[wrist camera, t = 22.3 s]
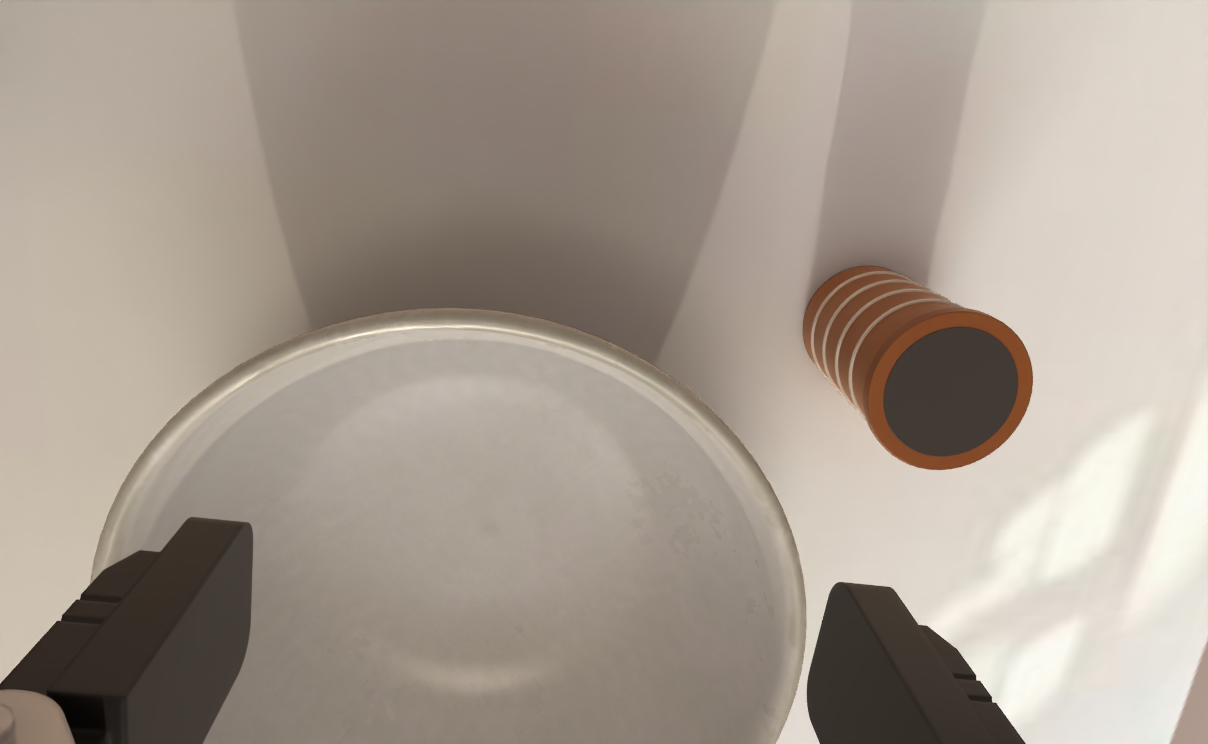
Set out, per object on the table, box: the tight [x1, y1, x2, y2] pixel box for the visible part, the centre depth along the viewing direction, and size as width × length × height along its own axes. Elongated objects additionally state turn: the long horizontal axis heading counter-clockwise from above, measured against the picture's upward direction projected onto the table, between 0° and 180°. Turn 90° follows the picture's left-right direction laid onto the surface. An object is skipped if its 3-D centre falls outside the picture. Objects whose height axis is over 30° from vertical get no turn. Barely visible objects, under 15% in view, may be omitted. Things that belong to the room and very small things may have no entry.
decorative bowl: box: [90, 308, 806, 744], centre depth 39 cm, size 27×27×12 cm
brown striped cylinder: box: [803, 266, 1033, 470], centre depth 38 cm, size 10×6×6 cm
